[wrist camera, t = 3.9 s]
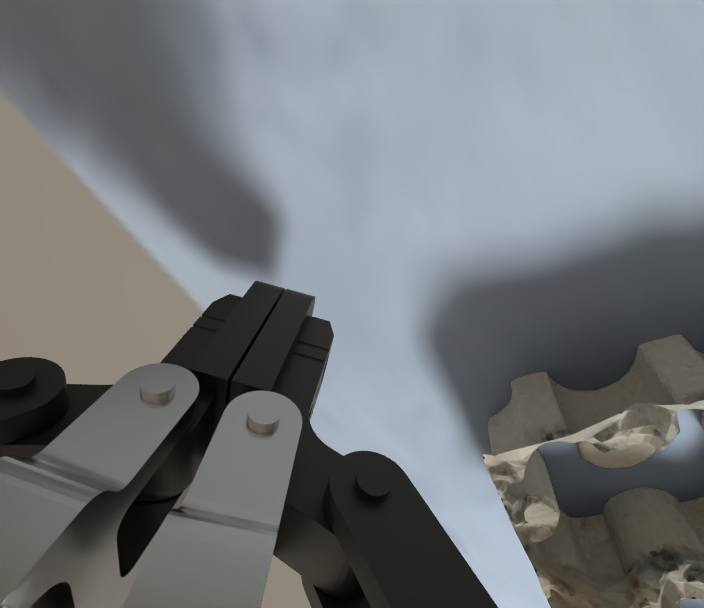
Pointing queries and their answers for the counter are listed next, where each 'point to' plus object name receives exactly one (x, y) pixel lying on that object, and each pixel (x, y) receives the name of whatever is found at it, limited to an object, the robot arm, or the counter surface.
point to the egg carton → (623, 508)
